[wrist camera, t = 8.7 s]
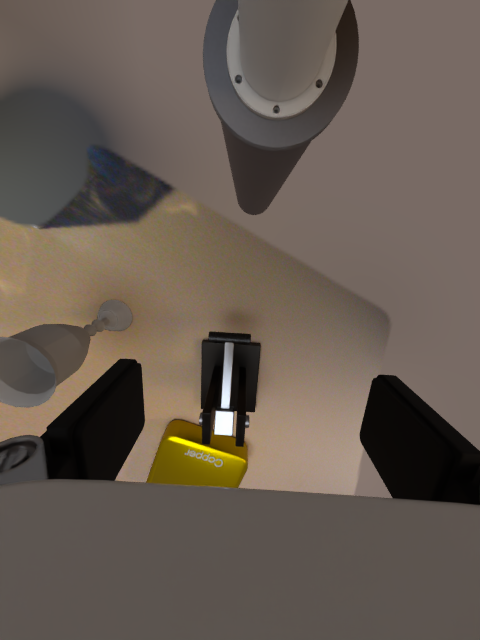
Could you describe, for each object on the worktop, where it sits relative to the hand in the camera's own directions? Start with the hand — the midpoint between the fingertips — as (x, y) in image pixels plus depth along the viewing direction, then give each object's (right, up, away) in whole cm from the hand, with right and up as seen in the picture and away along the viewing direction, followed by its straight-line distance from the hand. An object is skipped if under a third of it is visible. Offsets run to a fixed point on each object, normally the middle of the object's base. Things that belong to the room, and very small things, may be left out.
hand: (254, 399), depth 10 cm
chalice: (-20, +4, +29) cm, 35 cm away
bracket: (-2, -6, +31) cm, 32 cm away
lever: (-2, -5, +23) cm, 23 cm away
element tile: (-8, -23, +37) cm, 44 cm away
